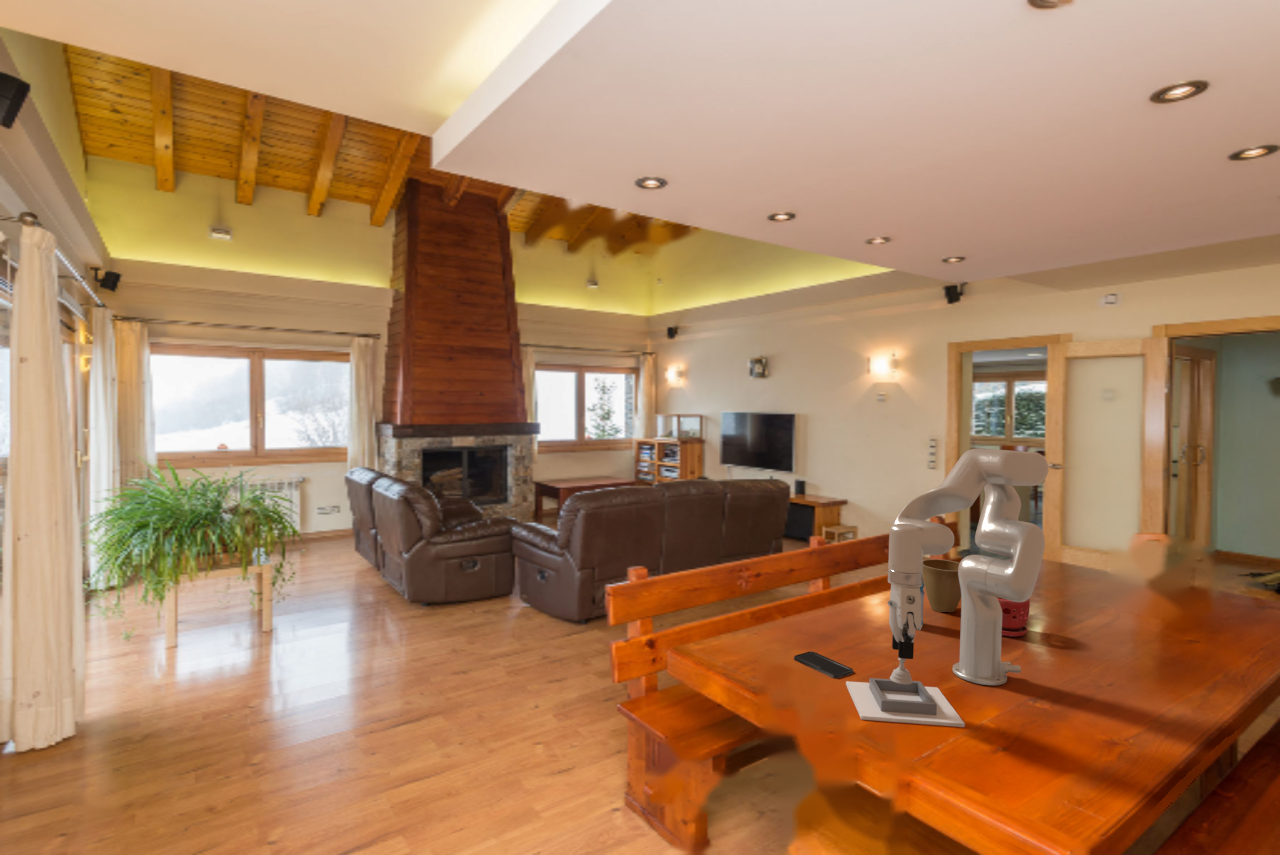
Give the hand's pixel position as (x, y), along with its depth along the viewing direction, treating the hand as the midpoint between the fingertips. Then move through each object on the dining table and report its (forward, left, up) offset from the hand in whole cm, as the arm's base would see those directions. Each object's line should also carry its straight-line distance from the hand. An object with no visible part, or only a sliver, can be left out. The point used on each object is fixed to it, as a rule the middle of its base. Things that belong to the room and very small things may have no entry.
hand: (902, 653), depth 150 cm
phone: (+15, -20, -13) cm, 28 cm away
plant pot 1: (-34, -75, -13) cm, 83 cm away
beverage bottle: (-18, -58, -13) cm, 62 cm away
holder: (0, 0, -12) cm, 12 cm away
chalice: (0, 0, -7) cm, 7 cm away
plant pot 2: (-46, -56, -13) cm, 74 cm away
